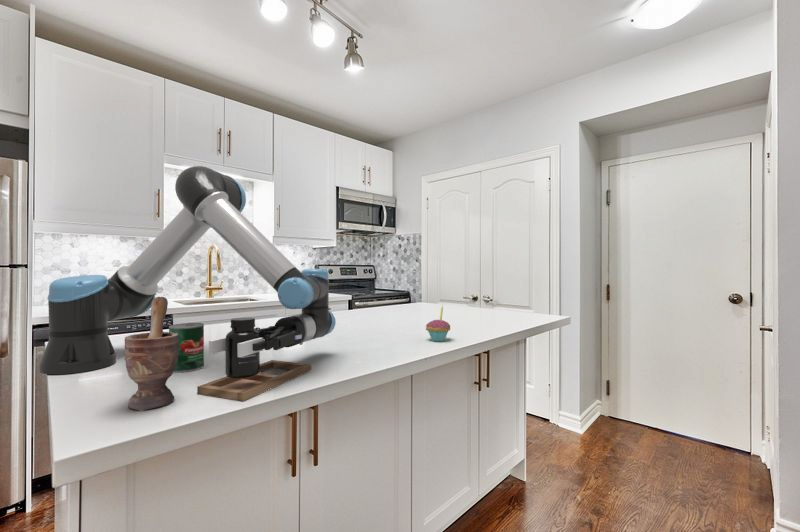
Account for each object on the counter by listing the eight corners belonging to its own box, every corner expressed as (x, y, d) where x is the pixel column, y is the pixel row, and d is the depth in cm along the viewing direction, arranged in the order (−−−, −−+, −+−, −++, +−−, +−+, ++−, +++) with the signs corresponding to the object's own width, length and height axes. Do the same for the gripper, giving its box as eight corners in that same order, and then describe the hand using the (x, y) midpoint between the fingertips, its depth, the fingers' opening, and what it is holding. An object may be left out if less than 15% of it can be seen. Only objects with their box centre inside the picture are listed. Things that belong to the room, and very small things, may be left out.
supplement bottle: (248, 380, 78) (247, 321, 78) (218, 378, 79) (217, 320, 79) (266, 370, 85) (265, 316, 85) (238, 369, 86) (238, 316, 86)
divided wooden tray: (197, 393, 79) (197, 386, 79) (272, 365, 100) (272, 359, 100) (243, 401, 74) (243, 393, 74) (311, 370, 96) (311, 364, 96)
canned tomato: (194, 372, 94) (193, 327, 94) (161, 372, 94) (161, 327, 94) (209, 363, 102) (209, 322, 102) (180, 363, 102) (180, 322, 102)
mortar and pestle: (121, 398, 76) (120, 297, 76) (171, 388, 82) (170, 295, 82) (127, 415, 67) (126, 302, 67) (182, 404, 73) (182, 299, 73)
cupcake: (438, 336, 139) (438, 304, 139) (455, 340, 133) (455, 306, 132) (420, 339, 134) (420, 305, 134) (438, 343, 127) (438, 307, 127)
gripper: (327, 347, 95) (264, 372, 74) (263, 342, 102) (188, 363, 81) (327, 317, 95) (263, 333, 74) (263, 314, 102) (188, 327, 81)
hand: (224, 349), depth 77 cm, fingers closed on supplement bottle, 7 cm apart
